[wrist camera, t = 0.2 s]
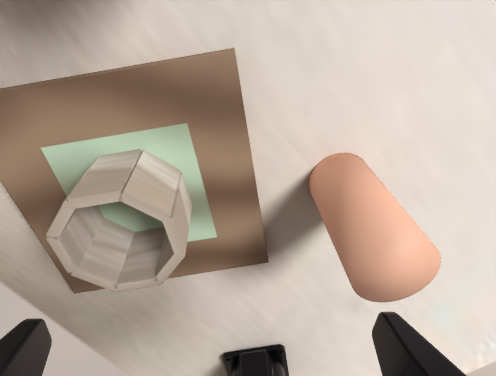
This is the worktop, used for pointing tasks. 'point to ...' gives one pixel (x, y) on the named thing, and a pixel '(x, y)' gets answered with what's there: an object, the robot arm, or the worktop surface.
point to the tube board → (132, 111)
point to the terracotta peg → (371, 231)
